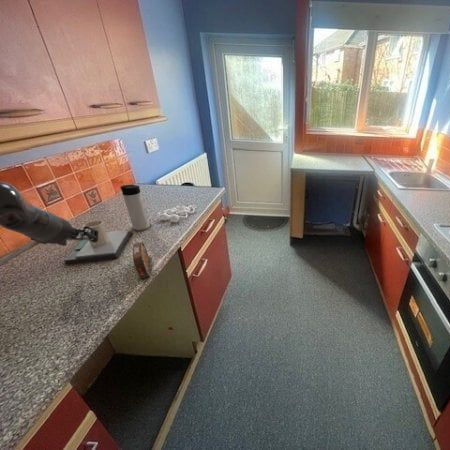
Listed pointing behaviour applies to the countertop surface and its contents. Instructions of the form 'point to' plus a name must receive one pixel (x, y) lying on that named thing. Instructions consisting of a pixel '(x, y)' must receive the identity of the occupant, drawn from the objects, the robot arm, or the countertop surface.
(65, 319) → the countertop surface
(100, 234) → the pot
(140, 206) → the travel mug
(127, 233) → the scale
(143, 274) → the tin
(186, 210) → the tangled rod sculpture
